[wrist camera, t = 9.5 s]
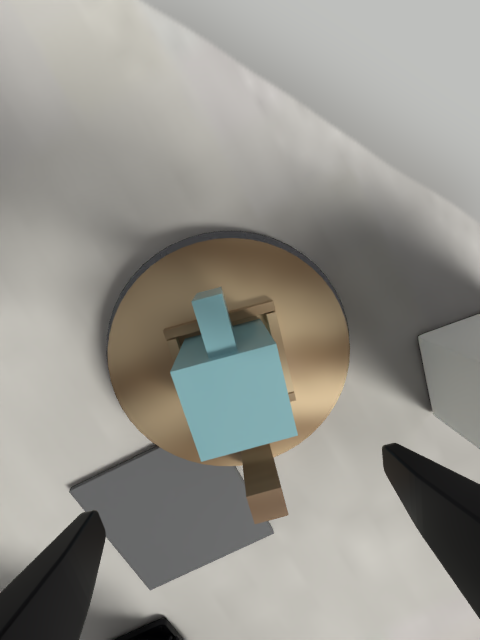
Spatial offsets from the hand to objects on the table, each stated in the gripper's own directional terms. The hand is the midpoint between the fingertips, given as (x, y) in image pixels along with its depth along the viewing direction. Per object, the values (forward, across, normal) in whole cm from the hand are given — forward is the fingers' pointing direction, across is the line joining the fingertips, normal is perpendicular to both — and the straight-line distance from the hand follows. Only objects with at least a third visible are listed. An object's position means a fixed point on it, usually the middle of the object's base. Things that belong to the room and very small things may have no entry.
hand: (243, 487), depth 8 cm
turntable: (+12, 0, 0) cm, 12 cm away
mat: (+12, +7, +12) cm, 18 cm away
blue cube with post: (+10, 0, -1) cm, 10 cm away
